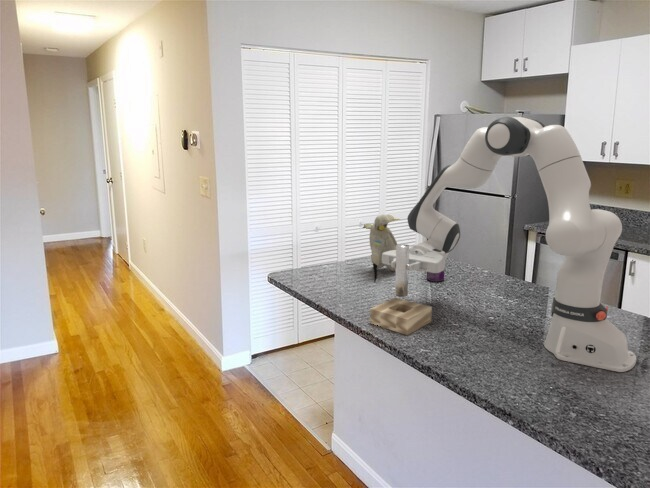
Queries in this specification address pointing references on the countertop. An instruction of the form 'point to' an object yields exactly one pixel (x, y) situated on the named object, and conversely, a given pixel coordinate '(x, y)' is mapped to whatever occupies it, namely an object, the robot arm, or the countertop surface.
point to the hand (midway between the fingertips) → (400, 266)
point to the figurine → (381, 241)
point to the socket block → (400, 315)
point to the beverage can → (435, 276)
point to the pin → (401, 270)
